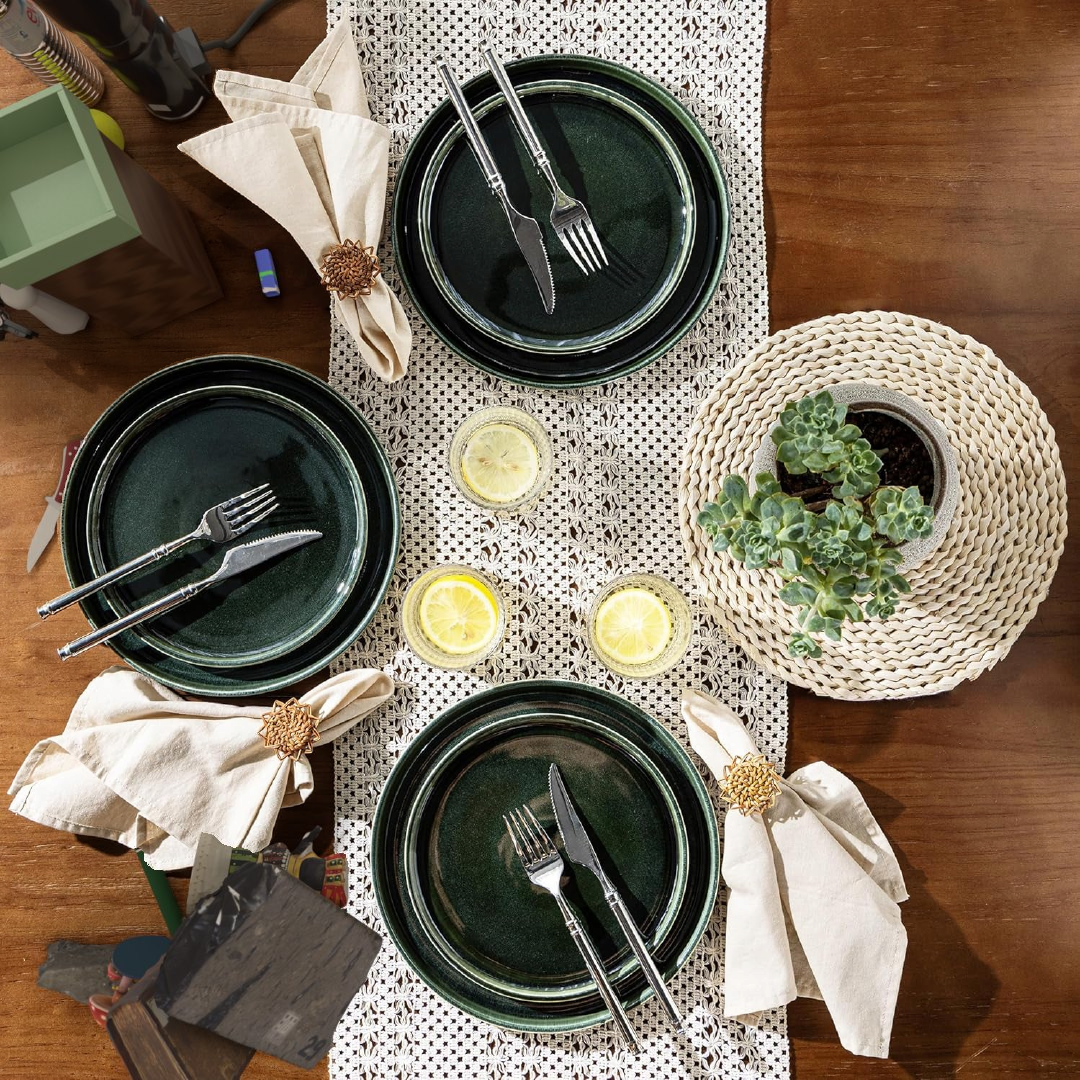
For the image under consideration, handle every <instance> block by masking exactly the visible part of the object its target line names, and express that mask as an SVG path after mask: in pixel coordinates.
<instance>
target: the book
mask: <svg viewBox="0 0 1080 1080" xmlns="http://www.w3.org/2000/svg"><path fill="white" fill-rule="evenodd" d="M165 956H166V953H165V954H164V955H163V956H161V958H160V960H159V961H158V962H157V963H156V964H155V965H154V966H153V967H151V968H150V969H148V970H147V971H146V973H145V974H144V976H143V977H142V978H141V979H140V980H139V981H138V982H137V983H136V984H134V985H133V986H132V987H131V988H130V989H129V990H128V992H127V993H126V994H125V995H124V996H123V997H122V998H121V999H120V1000H119V1001H118V1002H117V1003H115V1004H114V1005H113V1006H112V1007H111V1008H110V1010H109V1011H108V1013H107V1017H106V1028H105V1030H106V1032H107V1035H108V1037H109V1040H110V1042H111V1045H112V1046H113V1048H114V1050H115V1052H116V1053H117V1055H118V1056H119V1057H120V1058H121V1060H122V1062H123V1064H124V1066H125V1069H126V1070H127V1073H128V1075H129V1076H130V1079H131V1080H240V1079H241V1077H242V1075H243V1074H244V1072H245V1070H246V1069H247V1067H248V1066H249V1064H250V1063H251V1061H252V1060H253V1058H254V1056H255V1054H256V1053H257V1050H255V1049H254V1048H251V1047H248V1046H245V1045H242V1044H240V1043H238V1042H235V1041H232V1040H230V1039H227V1038H225V1037H223V1036H221V1035H218V1034H216V1033H215V1032H213V1031H209V1030H208V1029H205V1028H200V1027H199V1026H197V1025H193V1024H190V1023H187V1022H185V1021H181V1020H178V1019H177V1018H175V1017H172V1016H168V1015H167V1014H165V1013H164V1011H163V1010H162V1009H159V1008H157V1006H156V1003H155V1000H154V985H155V982H156V979H157V977H158V975H159V972H160V966H161V964H162V962H163V960H164V957H165Z"/></svg>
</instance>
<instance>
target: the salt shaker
mask: <svg viewBox="0 0 1080 1080" xmlns="http://www.w3.org/2000/svg"><path fill="white" fill-rule="evenodd" d="M0 296H1V299H2V300H3V301H4V302H5V304H6V306H9V307H10V308H12V309H15V310H17V311H18V310H19V311H21V310H25V311H28V312H29V313H30V314H31V315H33V317H35V318H36V319H38V320H39V321H40V322H41V323H43V324H44V325H45V326H46V327H48V328H49V329H50V330H51V331H54V332H55V333H58V334H60V335H72V334H74V333H76V332H79V331H82V330H85V329H86V327H87V324H88V322H89V320H90V314H88V313H86V312H84V311H82V310H80V309H78V308H76V307H74V306H71V305H69V304H67V303H65V302H63V301H61V300H59V299H57V298H55V297H53V296H51V295H49V294H46V293H44V292H42V291H40V290H38V289H36V288H34V287H32V286H30V285H28V286H26V287H24V288H22V289H19V290H15V289H13V288H11V287H8V286H6V285H4V284H2V283H1V284H0Z"/></svg>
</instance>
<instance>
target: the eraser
mask: <svg viewBox="0 0 1080 1080" xmlns="http://www.w3.org/2000/svg"><path fill="white" fill-rule="evenodd" d="M254 257H255V262H256V267H257V271H258V274H259V275H258V276H259V280H260V284H261V288H262V293H263V294H264V295H265V296H266V297H268V298H270V297H276V296H280V294H281V293H280V287H279V284H278V279H277V272H276V269H275V264H274V260H273V256H272V253H271V252H270V251H269V249H268V248H267V249H266V248H263V249H260V250H256V251H255V252H254Z"/></svg>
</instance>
